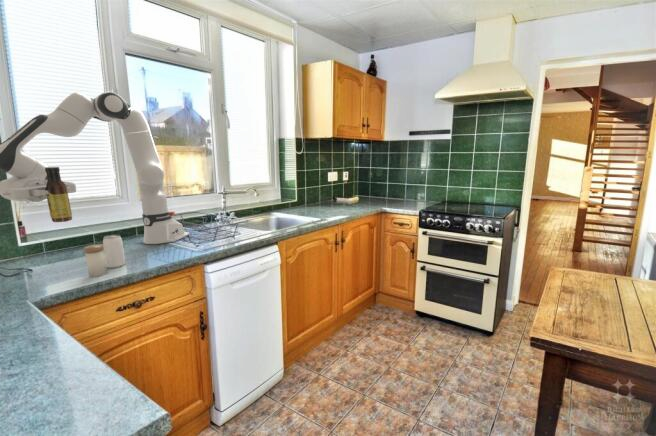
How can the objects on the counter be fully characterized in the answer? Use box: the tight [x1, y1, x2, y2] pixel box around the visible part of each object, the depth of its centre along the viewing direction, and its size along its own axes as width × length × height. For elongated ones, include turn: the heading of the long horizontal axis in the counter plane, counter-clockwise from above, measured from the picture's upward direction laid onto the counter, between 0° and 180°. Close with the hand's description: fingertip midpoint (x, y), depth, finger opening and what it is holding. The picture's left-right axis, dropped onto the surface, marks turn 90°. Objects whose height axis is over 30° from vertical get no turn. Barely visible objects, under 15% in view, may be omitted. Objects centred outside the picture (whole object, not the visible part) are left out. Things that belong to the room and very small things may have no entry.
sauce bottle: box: [45, 166, 73, 223], centre depth 124 cm, size 6×6×20 cm
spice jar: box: [83, 243, 108, 277], centre depth 126 cm, size 6×6×11 cm
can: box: [102, 234, 126, 269], centre depth 135 cm, size 6×6×12 cm
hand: (57, 191), depth 124 cm, fingers closed on sauce bottle, 6 cm apart
